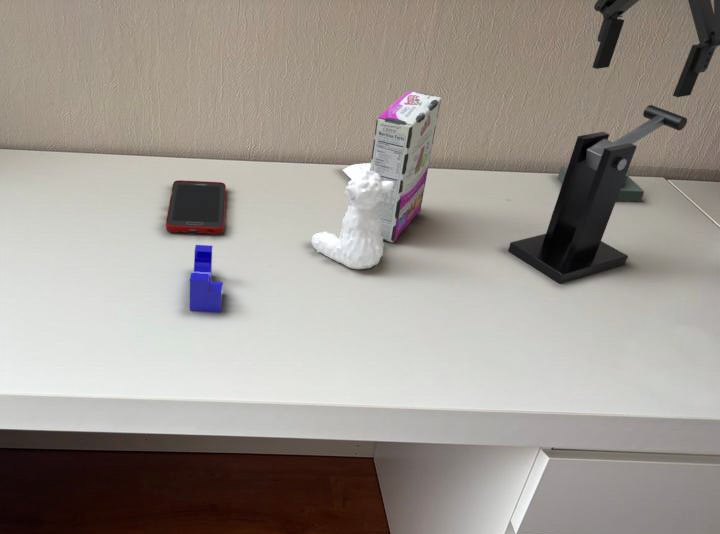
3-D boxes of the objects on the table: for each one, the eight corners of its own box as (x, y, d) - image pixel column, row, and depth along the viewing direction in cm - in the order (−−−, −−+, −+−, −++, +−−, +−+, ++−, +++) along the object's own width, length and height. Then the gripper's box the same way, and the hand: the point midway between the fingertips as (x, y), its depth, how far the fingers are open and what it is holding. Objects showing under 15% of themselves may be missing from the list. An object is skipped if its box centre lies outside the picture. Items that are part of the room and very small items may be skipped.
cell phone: (165, 232, 98) (164, 225, 98) (173, 185, 110) (173, 179, 110) (223, 235, 99) (223, 228, 98) (225, 188, 110) (226, 182, 110)
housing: (618, 180, 120) (626, 159, 118) (640, 201, 114) (649, 180, 112) (557, 177, 120) (564, 156, 118) (575, 199, 113) (583, 177, 111)
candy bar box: (387, 202, 109) (407, 89, 98) (420, 211, 107) (444, 96, 96) (357, 234, 101) (375, 114, 91) (392, 244, 99) (415, 123, 89)
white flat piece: (383, 212, 106) (384, 205, 106) (342, 171, 118) (343, 164, 117) (415, 209, 108) (416, 202, 107) (372, 168, 119) (372, 161, 118)
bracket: (571, 234, 104) (611, 122, 94) (625, 264, 98) (673, 147, 88) (507, 251, 99) (542, 134, 90) (559, 283, 93) (602, 162, 83)
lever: (651, 116, 94) (653, 99, 92) (685, 130, 91) (689, 112, 89) (576, 161, 92) (577, 145, 91) (608, 177, 89) (610, 160, 87)
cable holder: (220, 312, 84) (221, 281, 82) (189, 310, 84) (189, 279, 82) (224, 275, 91) (225, 246, 88) (195, 274, 91) (195, 244, 88)
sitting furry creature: (375, 238, 100) (390, 152, 93) (403, 270, 94) (422, 180, 86) (309, 245, 98) (319, 157, 91) (333, 278, 91) (346, 186, 84)
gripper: (600, -106, 100) (553, 59, 113) (781, -79, 83) (701, 112, 96) (637, -106, 103) (587, 54, 116) (820, -80, 86) (737, 105, 99)
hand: (639, 81), depth 106 cm, fingers open, 13 cm apart
